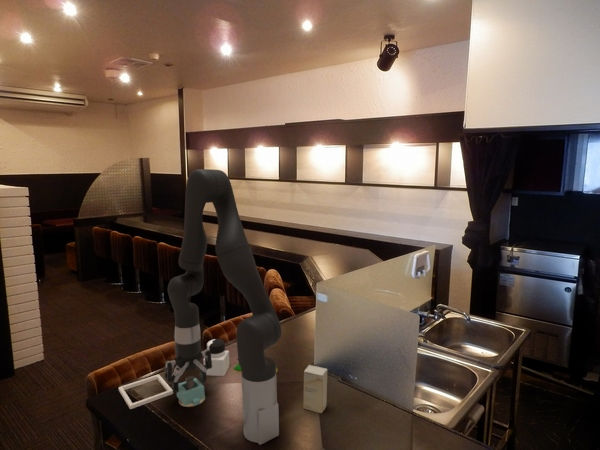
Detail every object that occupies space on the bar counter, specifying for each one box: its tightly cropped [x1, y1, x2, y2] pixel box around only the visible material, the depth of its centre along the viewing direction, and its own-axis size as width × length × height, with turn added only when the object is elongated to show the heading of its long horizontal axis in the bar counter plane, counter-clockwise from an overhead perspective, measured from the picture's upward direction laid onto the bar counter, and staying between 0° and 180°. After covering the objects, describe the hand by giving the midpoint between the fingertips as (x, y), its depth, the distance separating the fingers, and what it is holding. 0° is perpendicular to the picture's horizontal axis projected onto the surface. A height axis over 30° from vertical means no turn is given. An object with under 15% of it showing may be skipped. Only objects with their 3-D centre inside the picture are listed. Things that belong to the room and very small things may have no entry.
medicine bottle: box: [202, 338, 230, 377], centre depth 139 cm, size 7×7×12 cm
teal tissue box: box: [176, 377, 206, 407], centre depth 122 cm, size 8×6×4 cm
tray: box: [118, 374, 174, 410], centre depth 126 cm, size 13×13×2 cm
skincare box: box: [302, 364, 328, 414], centre depth 118 cm, size 6×4×12 cm
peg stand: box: [178, 374, 206, 408], centre depth 122 cm, size 8×8×8 cm
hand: (189, 386), depth 123 cm, fingers open, 8 cm apart
